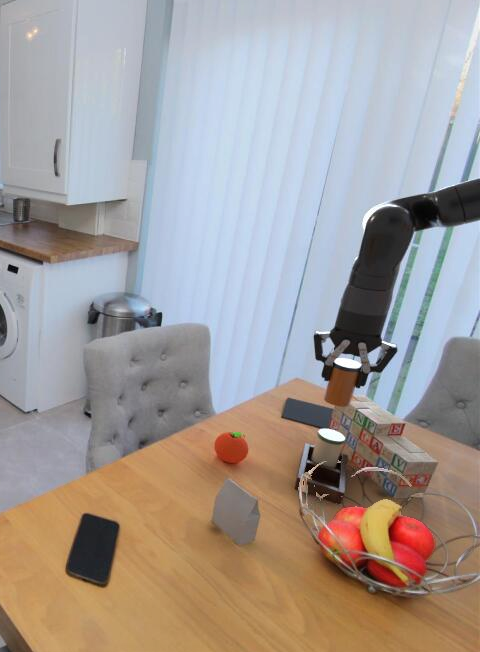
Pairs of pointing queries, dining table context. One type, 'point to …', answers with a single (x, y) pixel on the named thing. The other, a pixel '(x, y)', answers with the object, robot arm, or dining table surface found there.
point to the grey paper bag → (236, 513)
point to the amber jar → (342, 382)
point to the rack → (323, 476)
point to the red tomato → (231, 447)
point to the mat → (307, 413)
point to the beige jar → (328, 447)
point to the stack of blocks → (382, 447)
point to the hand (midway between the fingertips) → (341, 382)
